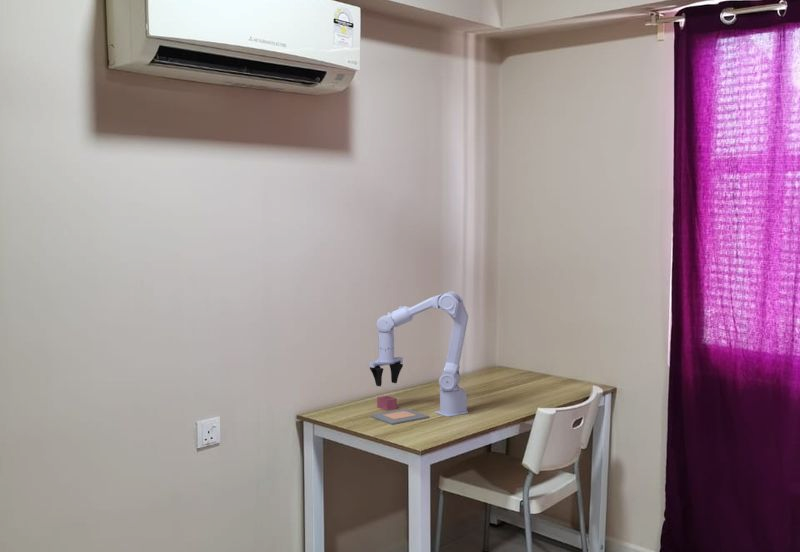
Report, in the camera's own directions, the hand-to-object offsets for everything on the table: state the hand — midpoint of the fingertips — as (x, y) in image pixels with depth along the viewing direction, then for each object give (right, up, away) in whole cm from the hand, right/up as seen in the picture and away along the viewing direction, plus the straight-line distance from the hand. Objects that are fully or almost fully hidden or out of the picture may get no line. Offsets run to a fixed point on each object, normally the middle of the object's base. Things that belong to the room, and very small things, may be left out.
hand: (386, 384), depth 295 cm
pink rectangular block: (0, -10, +3) cm, 10 cm away
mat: (+5, -10, -10) cm, 15 cm away
